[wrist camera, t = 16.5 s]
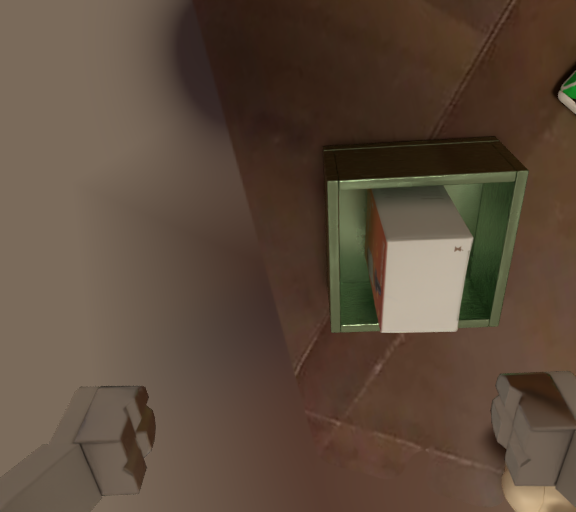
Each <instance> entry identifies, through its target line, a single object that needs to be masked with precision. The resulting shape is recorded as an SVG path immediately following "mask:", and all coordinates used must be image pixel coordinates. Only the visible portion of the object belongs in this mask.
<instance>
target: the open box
mask: <svg viewBox="0 0 576 512" xmlns="http://www.w3.org/2000/svg"><path fill="white" fill-rule="evenodd" d="M323 159H324V192H325V225H326V258H327V287H328V299H329V312H330V324H331V332H332V333H336V332H366V331H380V328H379V323H378V318H377V313H376V308H375V303H374V298H373V292H372V288H371V283H370V278H369V273H368V268H367V263H366V259H365V235H366V215H367V189H381V188H401V187H420V186H439V185H443V186H444V188H445V189H446V191H447V193H448V195H449V196H450V198H451V200H452V201H453V203H454V205H455V207H456V208H457V210H458V212H459V214H460V215H461V217H462V219H463V221H464V222H465V224H466V226H467V228H468V229H469V231H470V233H471V234H472V236H473V243H472V247H471V251H470V255H469V260H468V265H467V270H466V276H465V282H464V288H463V294H462V300H461V306H460V312H459V320H458V328H471V327H488V326H489V327H495V326H498V325H499V320H500V315H501V310H502V305H503V300H504V295H505V290H506V285H507V280H508V274H509V269H510V264H511V259H512V254H513V249H514V244H515V239H516V234H517V229H518V224H519V218H520V213H521V208H522V203H523V198H524V193H525V188H526V183H527V178H528V173H529V170H528V169H527V168H526V167H525V166H524V165H523V164H522V163H521V162H520V161H519V160H518V159H517V158H516V157H515V156H514V155H513V154H512V153H511V152H510V151H509V150H508V149H507V148H506V147H505V146H504V145H503V144H502V143H501V142H500V141H499V140H498V139H497V138H496V137H477V138H459V139H442V140H424V141H406V142H389V143H371V144H353V145H335V146H323Z"/></svg>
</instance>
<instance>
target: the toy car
mask: <svg viewBox="0 0 576 512" xmlns="http://www.w3.org/2000/svg"><path fill="white" fill-rule="evenodd" d="M558 98H559V100H560V101H561V102H562V103H563V104H564V105H566V106H567V107H568V108H569V109H570V110H571V111H572V112H574V113H575V114H576V103H575V102H574V101H573V100H572V99H575V100H576V69H575V70H574V71H573V72H572V73H571V74H570V75H569V76H568V78H567V80H566V81H565V82H564V84H563V85H562V86H561V89H560V91H559V93H558Z"/></svg>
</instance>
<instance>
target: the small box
mask: <svg viewBox="0 0 576 512" xmlns="http://www.w3.org/2000/svg"><path fill="white" fill-rule="evenodd" d="M472 243H473V236H472V234H471V233H470V231H469V229H468V228H467V226H466V224H465V222H464V221H463V219H462V217H461V215H460V214H459V212H458V210H457V208H456V207H455V205H454V203H453V201H452V200H451V198H450V196H449V195H448V193H447V191H446V189H445V188H444V186H443V185H439V186H420V187H401V188H381V189H367V215H366V235H365V259H366V263H367V268H368V273H369V278H370V283H371V288H372V292H373V298H374V303H375V308H376V313H377V318H378V323H379V328H380V332H382V333H401V332H455V331H457V329H458V320H459V312H460V306H461V300H462V294H463V288H464V282H465V276H466V270H467V265H468V260H469V255H470V251H471V247H472Z"/></svg>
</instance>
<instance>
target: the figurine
mask: <svg viewBox="0 0 576 512" xmlns="http://www.w3.org/2000/svg"><path fill="white" fill-rule="evenodd" d="M505 465H506V462H505ZM501 481H502V489H503V492H504V496H505V498H506V500H507V501H508V503H509V504H510V505H511V507H512V508H513V510H514V511H515V512H576V508H575V507H574V506H573V505H572V504H571V503H570V502H569V501H568V500H567V499H566V498H565V497H564V496H563V495H562V494H561V493H560V492H559V491H557V490H556V489H555V487H556V486H515V485H514V482H513V480H512V477H511V475H510V472H509V470H508V467H507V465H506V466H505V471H504V474H503V475H502V478H501Z"/></svg>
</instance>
